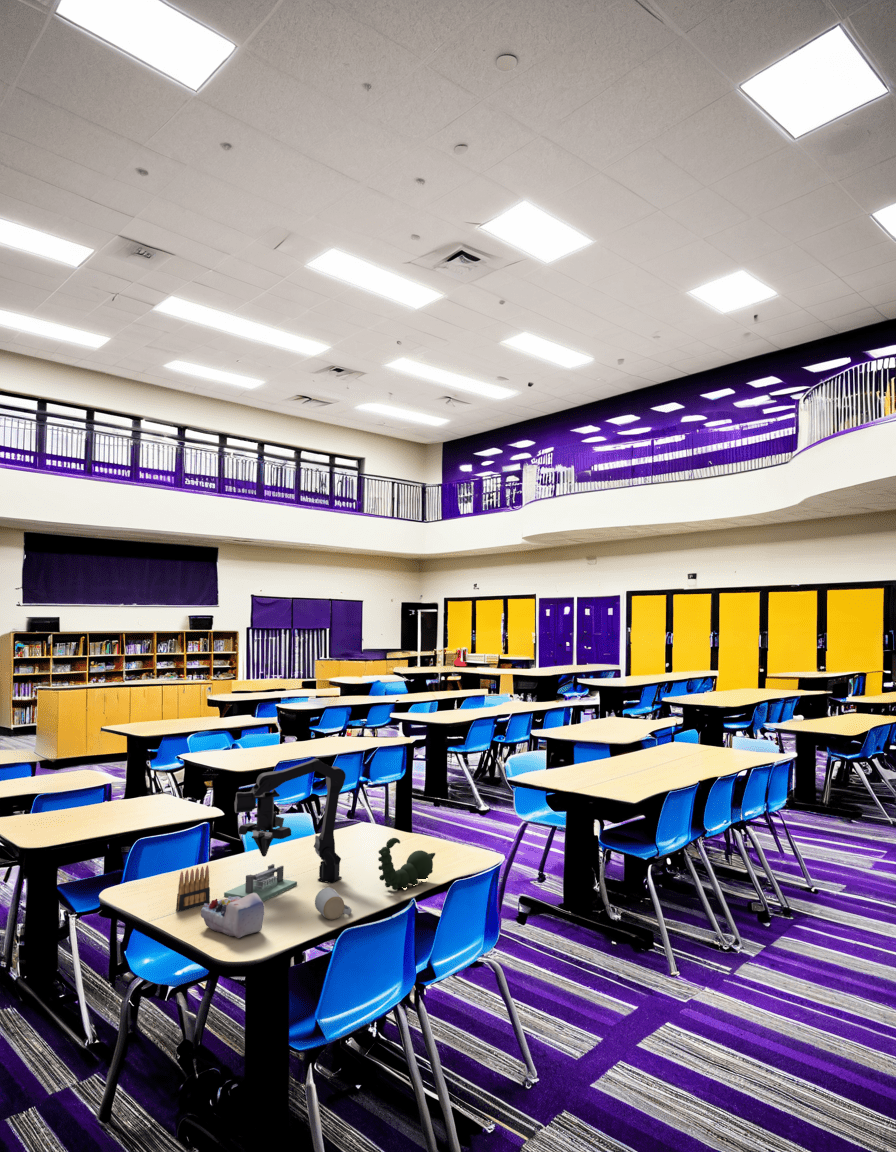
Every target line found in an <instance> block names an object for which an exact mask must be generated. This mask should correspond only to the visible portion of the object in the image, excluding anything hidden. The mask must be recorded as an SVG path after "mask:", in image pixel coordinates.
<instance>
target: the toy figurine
mask: <svg viewBox="0 0 896 1152" xmlns="http://www.w3.org/2000/svg"><path fill="white" fill-rule="evenodd" d="M396 844H401V840H400V839H399V838H397V837H392V838H390V839H388V840H387V842H386V844H385V845H386V846H383V847H381V848H380V849H379V850H378V854H379V855H380V856H379V857H378V858H377V859H378V862H380V863H381V864H380V865H379V866H378V870H379V871H382V874H381V875H379V878H378V879H379V880H380V881H384V886H385V887H386V888H390V887H391V889H392V890H393V891H397V890H398V889H399V888H398V887H403V888H406V887H408V888H409V886H408V885H411V884H413V885H415V884H419V881H418V879H426V878H428V879H429V875H430V874H432V873H433V871H434V870H433V868H434V862H433V859H434V858H435V856H436V852H431V853H428V852H427V851H425V850H421V849H420V850H416V851H413V852H412V853H411V854H410V855H408V857H407V859H406V863H404V864H403V865H401V867H400V868H398V869H395V868H394V866H395V865H394V862H393V857H392V855H391V849H392V848H393V847H395V845H396Z"/></svg>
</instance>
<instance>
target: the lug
mask: <svg viewBox="0 0 896 1152" xmlns="http://www.w3.org/2000/svg"><path fill="white" fill-rule="evenodd" d="M255 877H256V875H255V874H246V875H245V883H246V887H245V892H246V893H253V878H255Z"/></svg>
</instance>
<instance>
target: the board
mask: <svg viewBox="0 0 896 1152" xmlns="http://www.w3.org/2000/svg"><path fill="white" fill-rule="evenodd" d="M295 885H296V886H298V881H295V880H290V879H285V878H283V881H281V882H279V883H278V882H277V885H276V886H274V887H272V888H269V889H267V890H265V891H263V892H260V891H255V890H253V893H257V894H258V896H259V897H260V899H261V900H262V902H263V903H264V902H265V901H267V900H269V899H271V898H273V897H275V896H277V895H279V894H281V893H284V892H286V891H287V889H288V890H289V888H290V889H292V888H294V887H296V886H295ZM293 886H294V887H293ZM245 887H246V882H245V883H243V884H241V885H238V886H236V887H234V888H231V889H229V890H226V891H224V892H223V896H224V897H226V898H228V897H229V896H230V897H236V896H239V897H240V898H243V897H245V896H247V895H249V894H251V893H246V892H245ZM283 891H284V892H283Z"/></svg>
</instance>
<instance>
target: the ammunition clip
mask: <svg viewBox="0 0 896 1152" xmlns="http://www.w3.org/2000/svg"><path fill="white" fill-rule="evenodd" d="M200 868H201V869H199V867H196V869H195V872H194V869H193V868H191V871H190V873H189V870H188V869H186V871H185V875H184V871H182V870H181V872H180V876H179V882H178V889H177V890H178V891H177V892H178V893H177V897H176V905H175V906H176V907H175V911H177V912H184V911H187V910H191V909H194V908H198V907H203V906H204V904H205V903H206V904H211V893H210V892H211V891H210V890H211V888H210V870H209V865H208V864H207V865H206V867H205V870H204V866H201V867H200ZM189 874H190V876H189Z"/></svg>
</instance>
